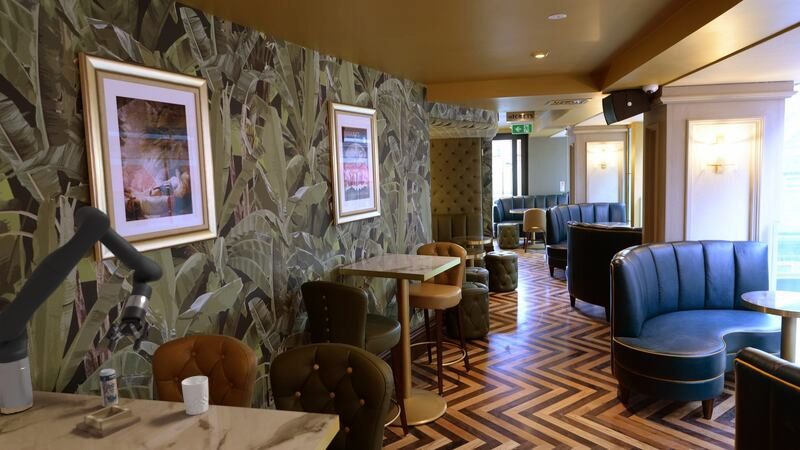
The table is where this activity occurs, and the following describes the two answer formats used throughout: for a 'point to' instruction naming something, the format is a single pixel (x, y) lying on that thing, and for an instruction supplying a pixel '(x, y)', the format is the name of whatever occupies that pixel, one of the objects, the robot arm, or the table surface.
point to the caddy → (108, 420)
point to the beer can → (108, 387)
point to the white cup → (195, 394)
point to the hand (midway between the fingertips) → (122, 350)
